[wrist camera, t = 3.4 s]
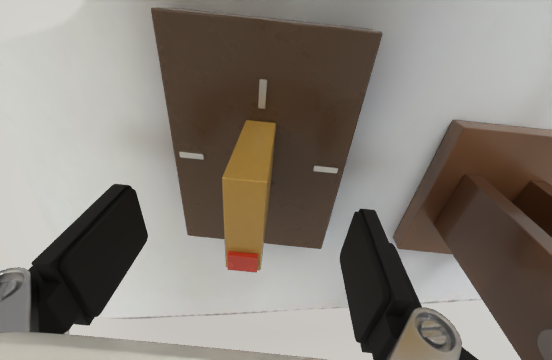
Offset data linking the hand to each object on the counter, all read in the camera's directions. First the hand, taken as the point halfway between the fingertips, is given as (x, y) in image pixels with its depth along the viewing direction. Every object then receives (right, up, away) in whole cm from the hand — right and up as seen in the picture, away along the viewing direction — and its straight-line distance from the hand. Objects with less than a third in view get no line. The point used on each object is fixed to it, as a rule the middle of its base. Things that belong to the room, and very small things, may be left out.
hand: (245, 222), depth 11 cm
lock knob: (0, +3, +4) cm, 5 cm away
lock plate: (0, +4, +5) cm, 7 cm away
